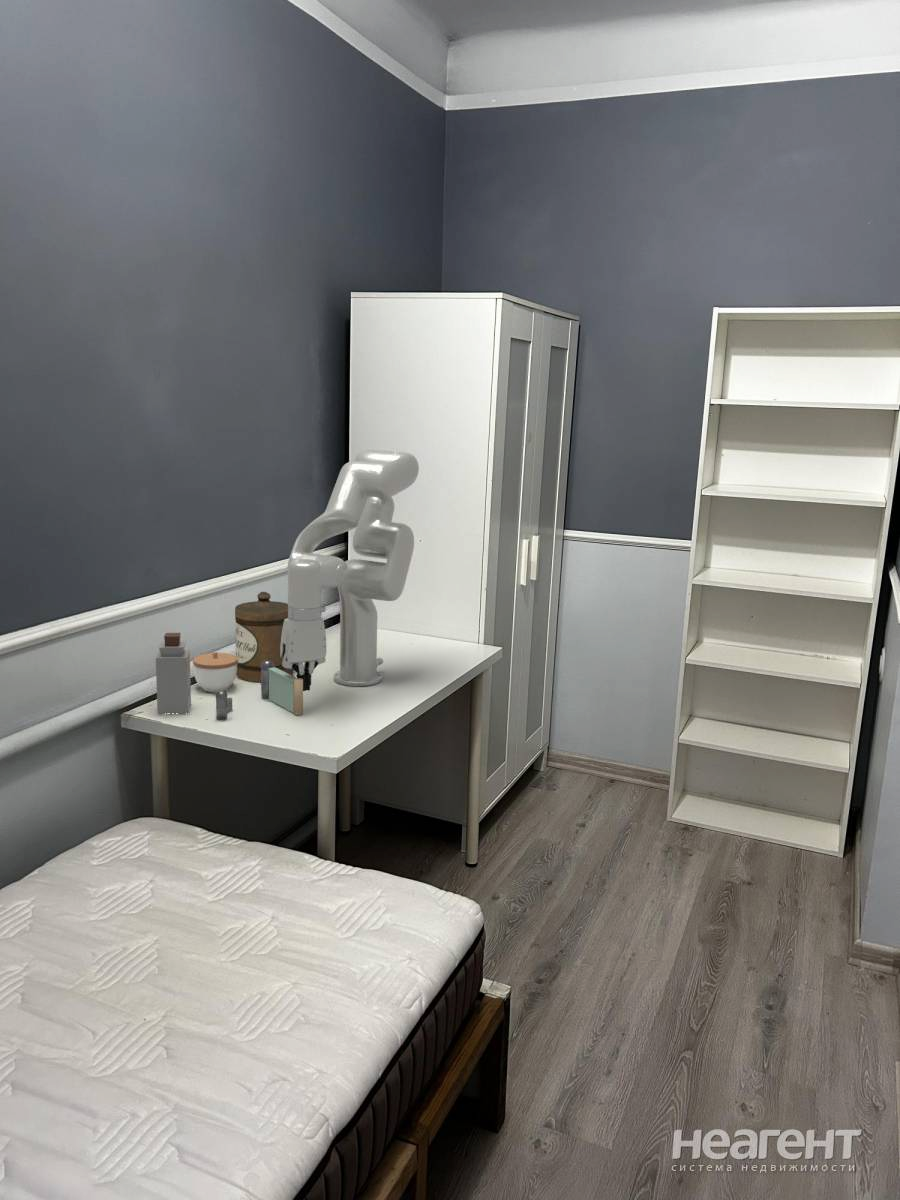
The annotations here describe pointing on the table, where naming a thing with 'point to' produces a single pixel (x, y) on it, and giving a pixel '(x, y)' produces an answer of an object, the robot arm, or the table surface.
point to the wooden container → (259, 636)
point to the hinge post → (265, 678)
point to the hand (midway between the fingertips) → (303, 689)
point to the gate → (286, 690)
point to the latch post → (222, 705)
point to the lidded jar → (215, 671)
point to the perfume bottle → (173, 676)
